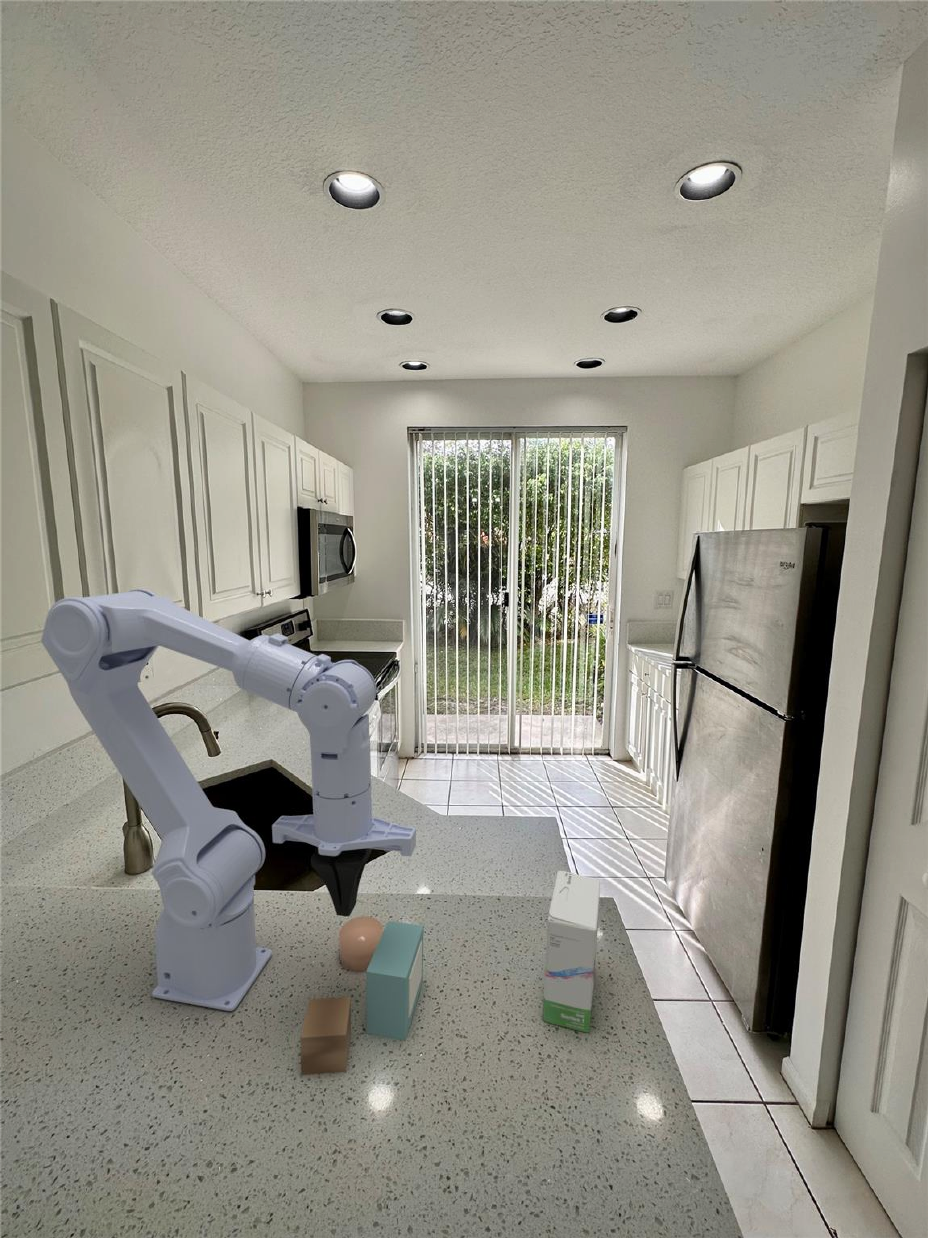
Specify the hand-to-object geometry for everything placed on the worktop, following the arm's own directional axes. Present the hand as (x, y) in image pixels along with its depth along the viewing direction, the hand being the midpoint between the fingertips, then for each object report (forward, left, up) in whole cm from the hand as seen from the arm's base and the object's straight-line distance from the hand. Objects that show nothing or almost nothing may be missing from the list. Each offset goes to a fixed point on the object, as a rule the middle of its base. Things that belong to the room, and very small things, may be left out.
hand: (346, 909), depth 54 cm
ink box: (+23, +5, -11) cm, 26 cm away
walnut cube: (0, -6, -11) cm, 12 cm away
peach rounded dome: (-1, +6, -11) cm, 12 cm away
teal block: (+5, 0, -11) cm, 12 cm away
